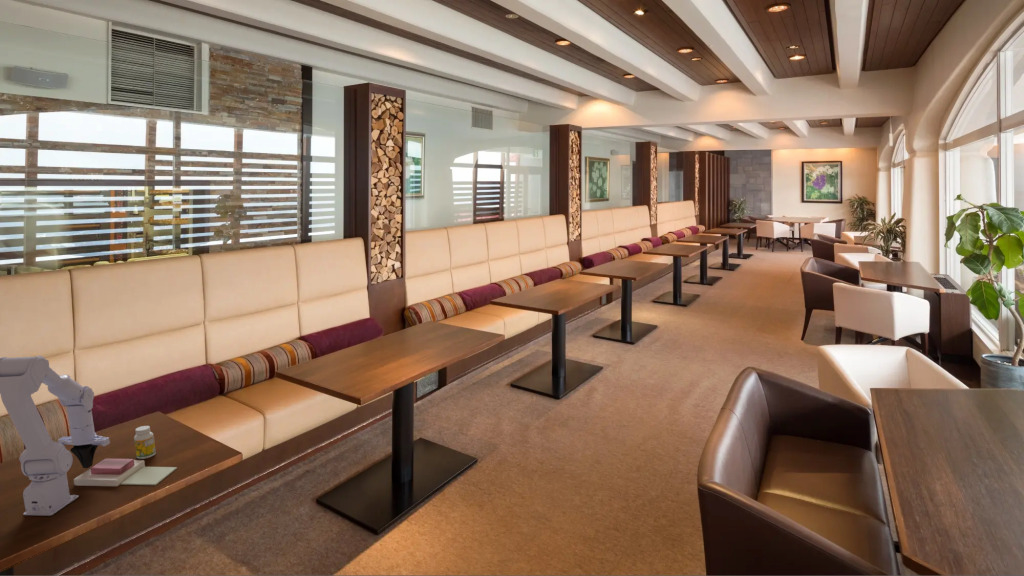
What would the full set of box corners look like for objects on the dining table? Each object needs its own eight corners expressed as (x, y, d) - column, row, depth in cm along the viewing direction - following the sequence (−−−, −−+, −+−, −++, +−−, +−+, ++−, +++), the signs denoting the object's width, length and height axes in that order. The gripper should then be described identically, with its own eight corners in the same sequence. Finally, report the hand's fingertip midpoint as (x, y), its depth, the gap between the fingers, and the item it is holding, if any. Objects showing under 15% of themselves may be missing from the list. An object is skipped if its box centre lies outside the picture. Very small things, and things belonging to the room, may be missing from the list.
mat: (155, 485, 166) (155, 484, 166) (120, 484, 166) (120, 483, 166) (176, 468, 176) (176, 467, 176) (143, 467, 176) (143, 466, 176)
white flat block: (117, 486, 166) (116, 480, 165) (74, 485, 166) (73, 479, 166) (144, 466, 177) (144, 460, 177) (105, 465, 178) (104, 459, 177)
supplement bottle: (159, 454, 185) (155, 426, 184) (142, 460, 181) (138, 433, 179) (150, 450, 188) (146, 423, 186) (133, 457, 183) (129, 429, 182)
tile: (120, 474, 168) (119, 468, 168) (91, 474, 169) (90, 468, 168) (134, 464, 174) (133, 459, 174) (106, 464, 174) (105, 458, 174)
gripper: (114, 419, 173) (120, 460, 175) (69, 419, 173) (75, 459, 176) (97, 429, 166) (103, 472, 168) (49, 428, 166) (56, 471, 169)
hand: (87, 466), depth 171 cm, fingers closed
